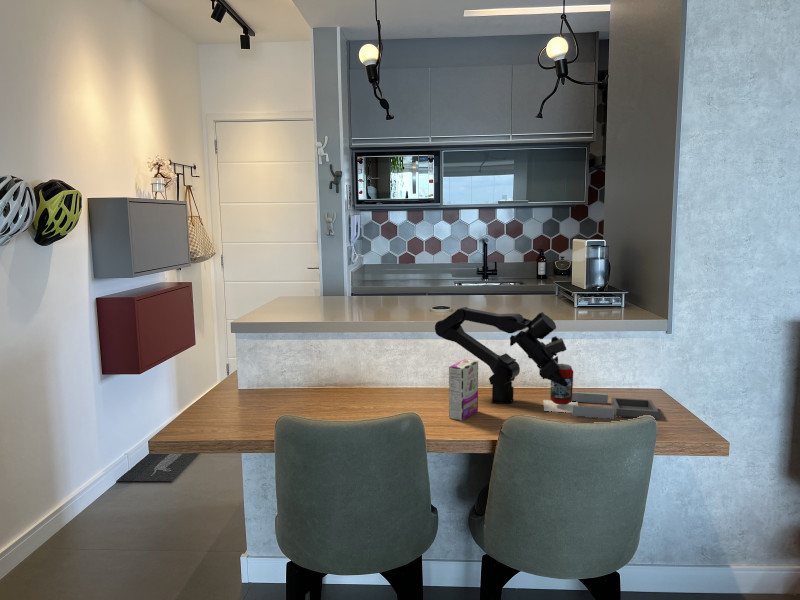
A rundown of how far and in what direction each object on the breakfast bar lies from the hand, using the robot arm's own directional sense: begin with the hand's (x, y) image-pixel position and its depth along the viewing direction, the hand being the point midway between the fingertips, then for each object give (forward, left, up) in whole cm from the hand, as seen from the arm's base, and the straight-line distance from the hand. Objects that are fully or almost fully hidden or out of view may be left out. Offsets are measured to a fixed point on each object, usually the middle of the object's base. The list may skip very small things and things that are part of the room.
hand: (566, 382), depth 194 cm
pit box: (+21, 0, -8) cm, 22 cm away
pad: (-1, 0, -8) cm, 8 cm away
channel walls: (+8, 0, -8) cm, 11 cm away
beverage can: (-1, 0, -7) cm, 7 cm away
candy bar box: (-31, -14, -8) cm, 35 cm away
